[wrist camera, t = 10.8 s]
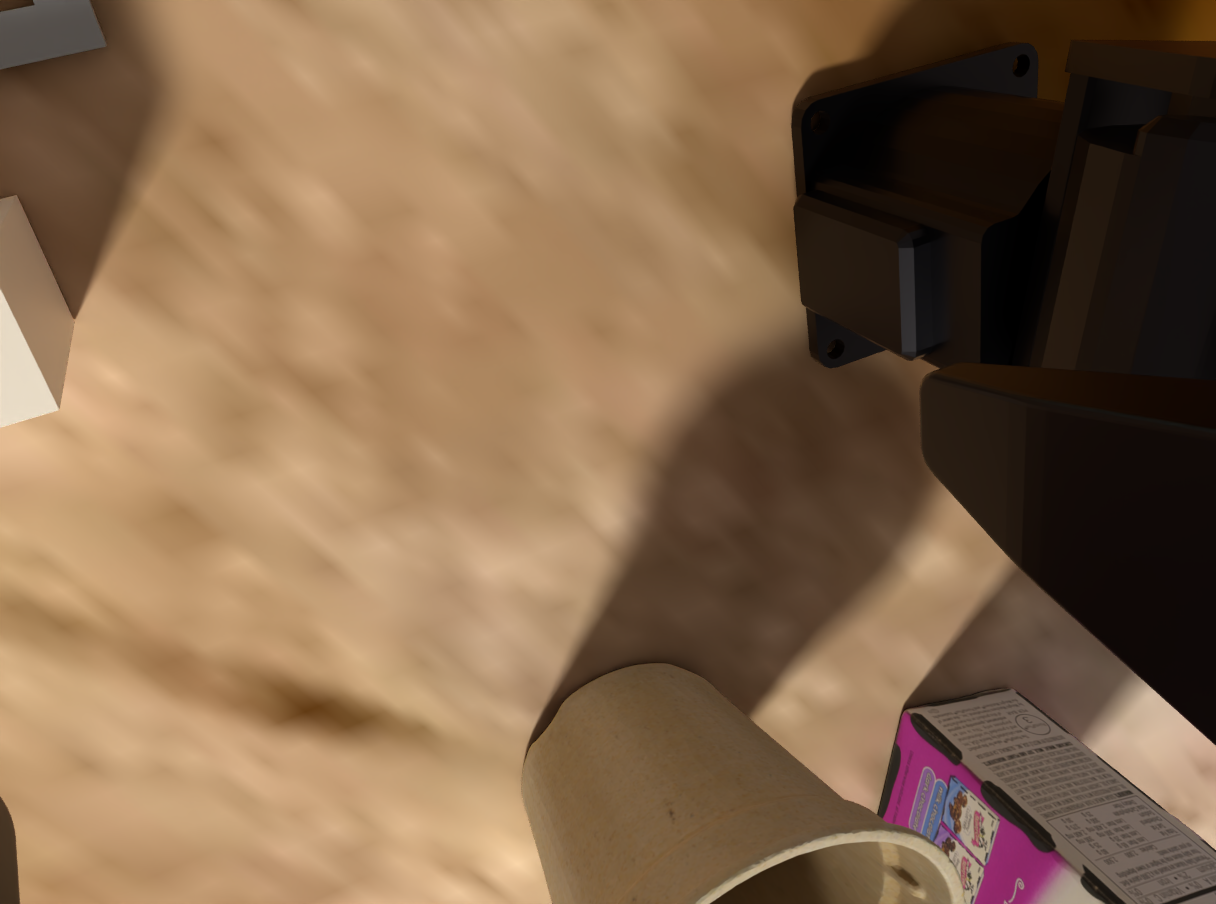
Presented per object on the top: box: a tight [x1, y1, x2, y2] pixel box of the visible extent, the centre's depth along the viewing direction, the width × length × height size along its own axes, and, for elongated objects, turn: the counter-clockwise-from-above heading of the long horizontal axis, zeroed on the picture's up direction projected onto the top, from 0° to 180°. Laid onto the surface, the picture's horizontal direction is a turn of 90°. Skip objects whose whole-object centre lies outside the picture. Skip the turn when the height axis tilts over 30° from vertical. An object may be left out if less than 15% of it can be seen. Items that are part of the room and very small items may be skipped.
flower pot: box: [521, 663, 967, 904], centre depth 25 cm, size 9×9×9 cm
